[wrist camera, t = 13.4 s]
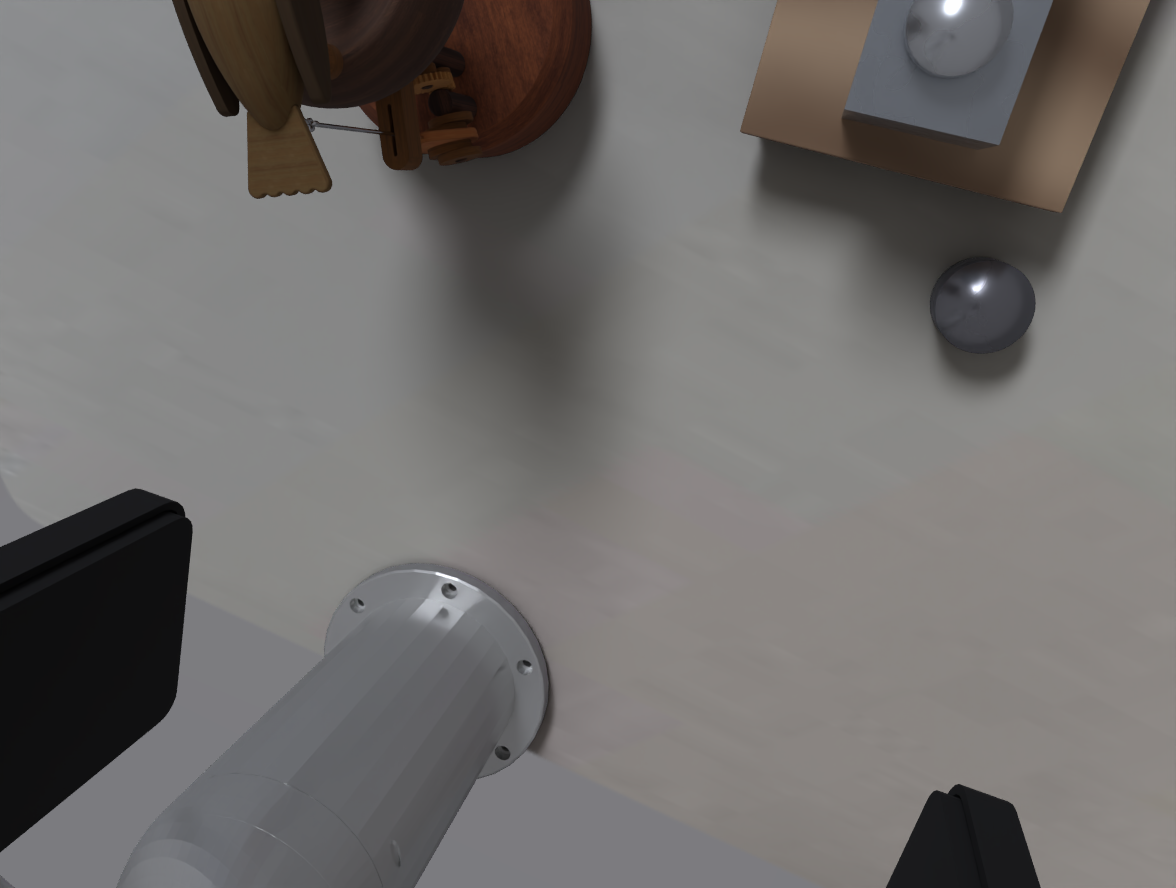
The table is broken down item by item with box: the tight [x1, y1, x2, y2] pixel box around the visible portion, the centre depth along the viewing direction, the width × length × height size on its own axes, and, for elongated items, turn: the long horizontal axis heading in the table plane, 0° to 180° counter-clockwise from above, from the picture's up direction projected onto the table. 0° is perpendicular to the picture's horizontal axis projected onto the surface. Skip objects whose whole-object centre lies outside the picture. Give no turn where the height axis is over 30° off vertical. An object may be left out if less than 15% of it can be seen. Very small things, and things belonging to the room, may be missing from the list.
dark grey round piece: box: [930, 257, 1035, 353], centre depth 35 cm, size 4×4×2 cm
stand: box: [740, 0, 1150, 213], centre depth 32 cm, size 12×12×3 cm
